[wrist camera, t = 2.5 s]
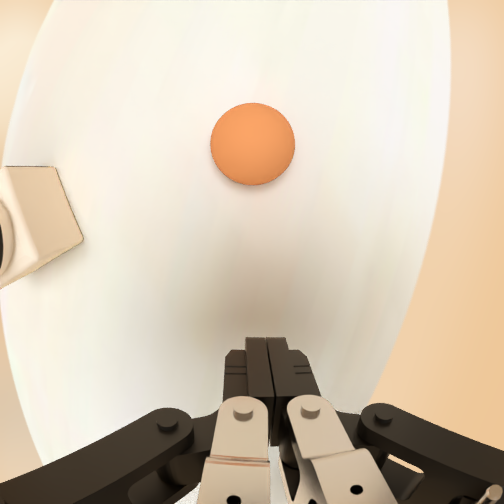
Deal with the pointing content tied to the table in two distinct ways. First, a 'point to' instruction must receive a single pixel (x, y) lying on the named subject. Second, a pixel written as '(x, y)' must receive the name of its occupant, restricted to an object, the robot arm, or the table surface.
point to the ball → (252, 144)
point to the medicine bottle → (32, 221)
